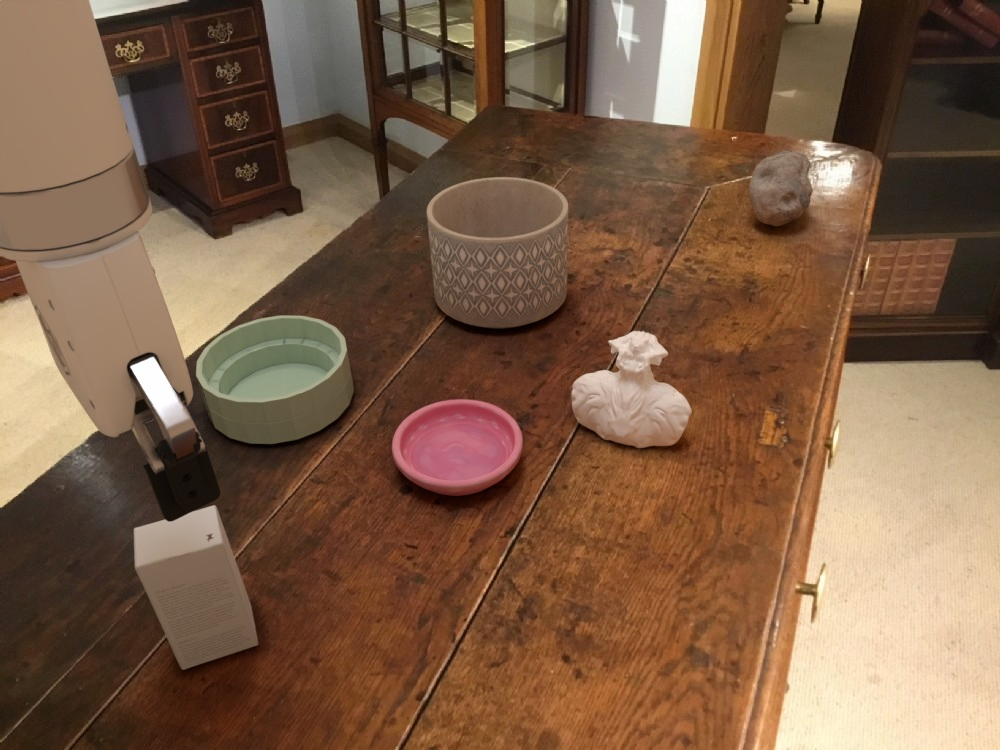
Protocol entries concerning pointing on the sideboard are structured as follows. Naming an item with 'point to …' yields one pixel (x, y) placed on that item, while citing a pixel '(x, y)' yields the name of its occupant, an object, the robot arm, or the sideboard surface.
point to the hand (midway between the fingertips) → (160, 462)
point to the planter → (499, 251)
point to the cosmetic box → (195, 586)
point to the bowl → (275, 379)
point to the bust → (631, 397)
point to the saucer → (457, 446)
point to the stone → (780, 188)
